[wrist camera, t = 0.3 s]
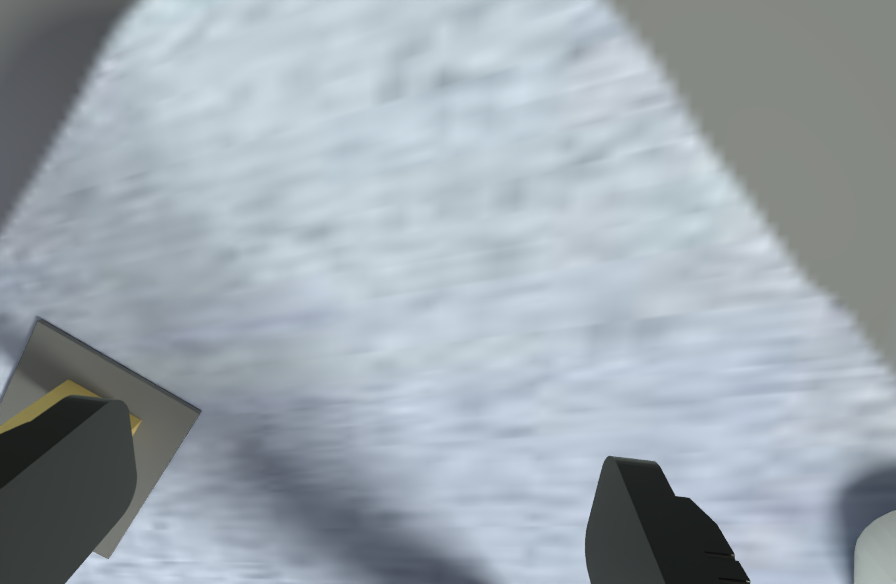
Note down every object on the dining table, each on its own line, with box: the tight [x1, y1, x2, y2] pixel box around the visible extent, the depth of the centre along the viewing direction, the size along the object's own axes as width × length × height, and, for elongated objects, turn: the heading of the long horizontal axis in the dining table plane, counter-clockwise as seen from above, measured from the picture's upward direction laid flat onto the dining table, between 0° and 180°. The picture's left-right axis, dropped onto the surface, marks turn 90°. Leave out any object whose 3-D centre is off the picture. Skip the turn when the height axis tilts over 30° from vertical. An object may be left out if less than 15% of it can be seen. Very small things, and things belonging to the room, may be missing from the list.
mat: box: [0, 319, 201, 559], centre depth 44 cm, size 20×14×1 cm
